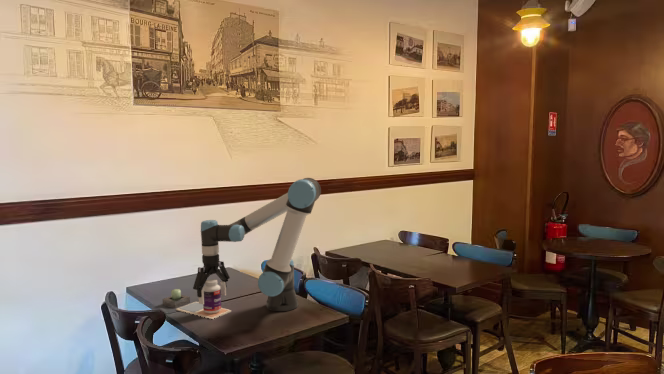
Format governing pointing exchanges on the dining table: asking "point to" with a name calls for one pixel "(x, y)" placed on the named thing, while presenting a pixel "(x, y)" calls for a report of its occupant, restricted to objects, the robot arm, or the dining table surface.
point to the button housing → (176, 301)
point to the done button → (176, 294)
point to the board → (201, 310)
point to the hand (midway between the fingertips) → (212, 299)
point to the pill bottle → (212, 297)
